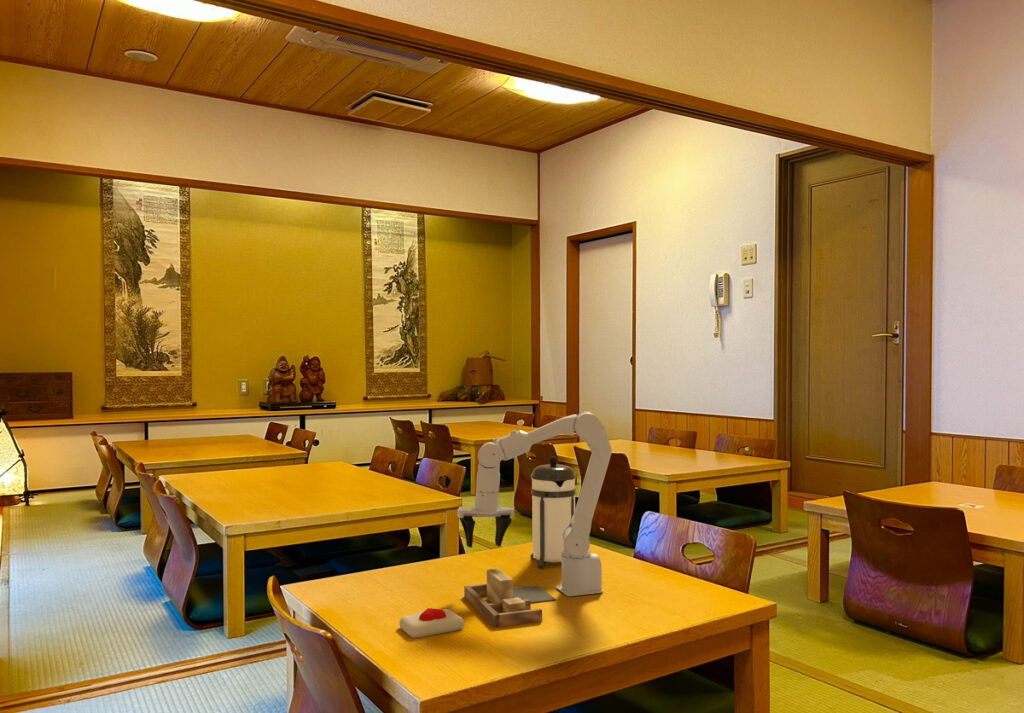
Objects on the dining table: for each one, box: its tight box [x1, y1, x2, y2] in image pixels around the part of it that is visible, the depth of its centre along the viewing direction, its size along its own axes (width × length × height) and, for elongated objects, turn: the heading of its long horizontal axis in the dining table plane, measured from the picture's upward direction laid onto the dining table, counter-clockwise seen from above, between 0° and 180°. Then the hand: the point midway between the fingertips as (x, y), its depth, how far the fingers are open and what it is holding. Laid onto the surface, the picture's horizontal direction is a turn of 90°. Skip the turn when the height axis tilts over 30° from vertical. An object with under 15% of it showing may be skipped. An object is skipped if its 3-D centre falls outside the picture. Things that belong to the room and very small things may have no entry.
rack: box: [463, 583, 543, 628], centre depth 176 cm, size 11×23×2 cm, turn 20°
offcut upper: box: [503, 597, 525, 612], centre depth 170 cm, size 4×4×2 cm
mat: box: [513, 584, 557, 604], centre depth 186 cm, size 9×12×1 cm
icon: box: [399, 607, 465, 639], centre depth 164 cm, size 12×4×10 cm
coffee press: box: [529, 455, 577, 569], centre depth 217 cm, size 17×16×30 cm
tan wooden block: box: [486, 568, 514, 604], centre depth 179 cm, size 3×10×7 cm, turn 20°
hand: (483, 546), depth 190 cm, fingers open, 7 cm apart
